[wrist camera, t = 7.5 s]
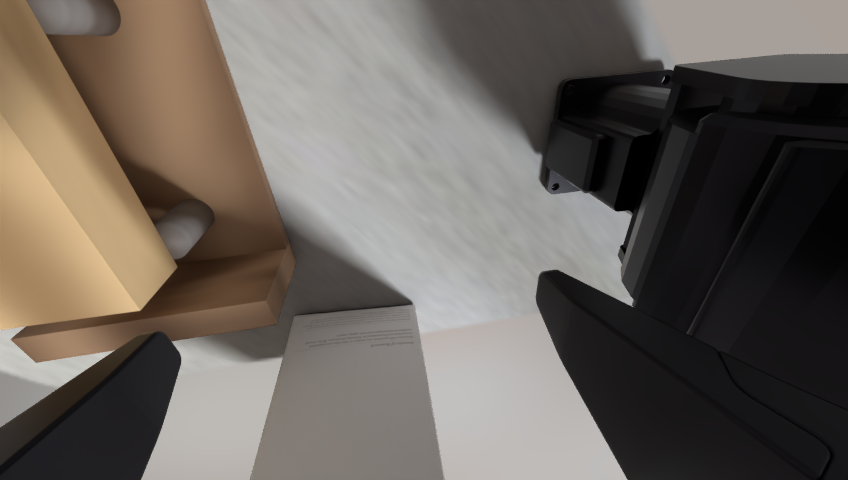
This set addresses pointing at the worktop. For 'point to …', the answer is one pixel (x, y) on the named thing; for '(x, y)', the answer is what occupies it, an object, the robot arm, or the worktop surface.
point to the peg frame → (172, 170)
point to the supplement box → (351, 401)
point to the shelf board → (63, 196)
